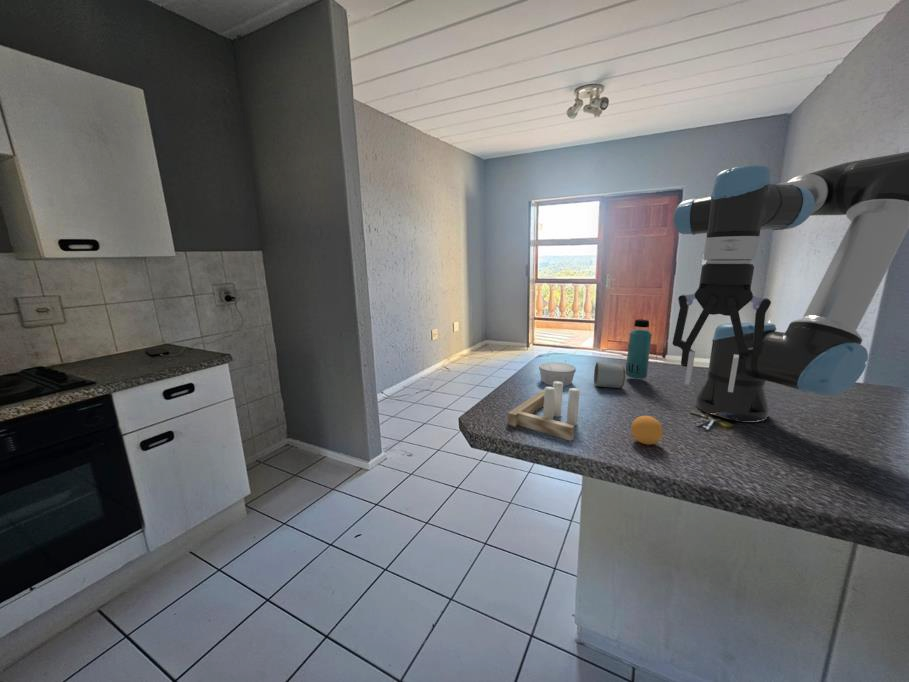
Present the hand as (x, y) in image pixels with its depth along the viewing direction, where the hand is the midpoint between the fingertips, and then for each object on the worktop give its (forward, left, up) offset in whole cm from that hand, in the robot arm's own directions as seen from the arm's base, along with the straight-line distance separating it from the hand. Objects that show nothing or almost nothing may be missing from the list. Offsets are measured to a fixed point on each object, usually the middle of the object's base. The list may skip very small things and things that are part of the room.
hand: (708, 386), depth 70 cm
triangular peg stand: (+30, 0, -15) cm, 33 cm away
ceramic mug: (+27, -34, -15) cm, 46 cm away
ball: (+9, 0, -12) cm, 15 cm away
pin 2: (+30, -3, -15) cm, 34 cm away
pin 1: (+30, +2, -15) cm, 34 cm away
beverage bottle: (+20, -44, -15) cm, 51 cm away
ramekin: (+40, -27, -15) cm, 51 cm away
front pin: (+25, 0, -15) cm, 30 cm away
